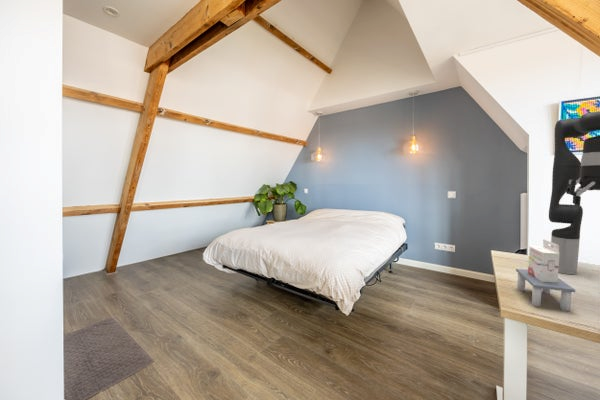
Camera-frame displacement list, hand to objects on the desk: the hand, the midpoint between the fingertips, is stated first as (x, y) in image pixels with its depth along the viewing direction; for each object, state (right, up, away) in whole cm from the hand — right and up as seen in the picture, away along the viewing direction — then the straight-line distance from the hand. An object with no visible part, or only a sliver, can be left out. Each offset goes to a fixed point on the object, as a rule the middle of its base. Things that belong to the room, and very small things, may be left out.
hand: (592, 205), depth 93 cm
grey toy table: (-20, -37, 0) cm, 42 cm away
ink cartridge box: (-20, -29, 0) cm, 35 cm away
